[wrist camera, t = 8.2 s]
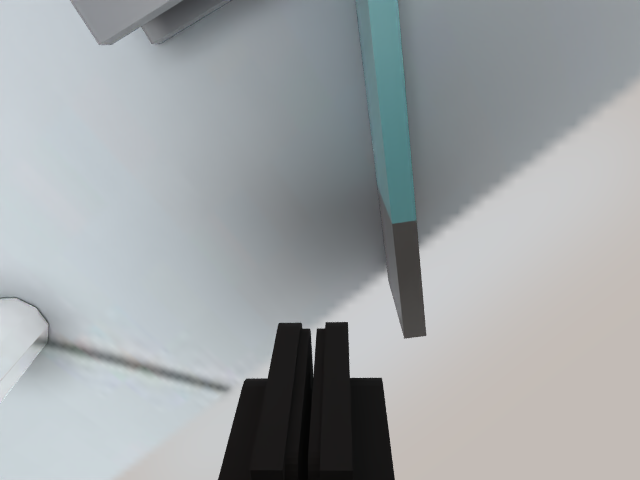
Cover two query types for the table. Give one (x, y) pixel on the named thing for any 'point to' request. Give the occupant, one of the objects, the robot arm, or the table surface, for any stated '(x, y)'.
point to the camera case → (142, 17)
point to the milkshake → (18, 340)
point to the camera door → (392, 156)
